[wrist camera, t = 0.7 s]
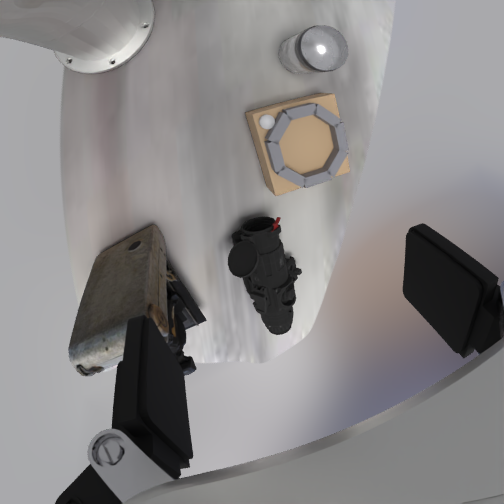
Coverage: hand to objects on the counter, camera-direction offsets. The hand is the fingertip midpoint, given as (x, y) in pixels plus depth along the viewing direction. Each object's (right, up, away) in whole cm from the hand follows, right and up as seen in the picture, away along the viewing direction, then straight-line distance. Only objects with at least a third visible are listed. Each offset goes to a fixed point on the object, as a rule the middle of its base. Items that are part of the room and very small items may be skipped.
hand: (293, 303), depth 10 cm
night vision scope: (0, 0, +35) cm, 35 cm away
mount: (+4, +16, +27) cm, 31 cm away
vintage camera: (-15, -2, +32) cm, 36 cm away
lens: (+4, +26, +22) cm, 34 cm away
